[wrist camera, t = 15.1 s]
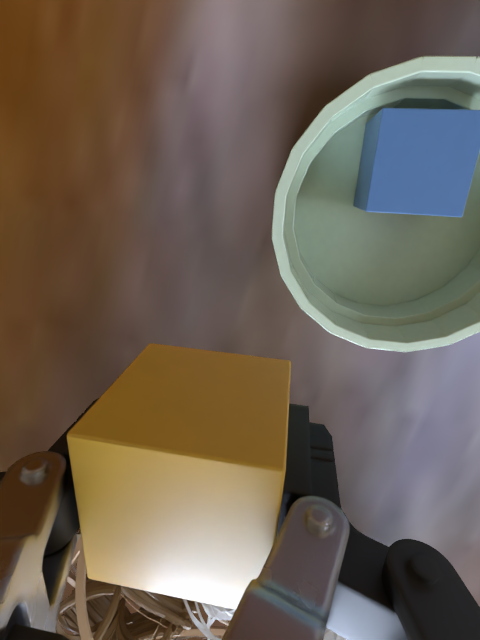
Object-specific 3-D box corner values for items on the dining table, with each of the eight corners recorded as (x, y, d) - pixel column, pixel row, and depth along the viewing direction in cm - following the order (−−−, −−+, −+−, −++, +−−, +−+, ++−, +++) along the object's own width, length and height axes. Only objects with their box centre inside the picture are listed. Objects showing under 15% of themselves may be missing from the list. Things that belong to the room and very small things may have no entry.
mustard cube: (149, 342, 12) (64, 433, 7) (291, 359, 11) (285, 469, 7) (153, 453, 13) (86, 579, 9) (276, 473, 13) (265, 617, 9)
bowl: (288, 85, 21) (285, 54, 16) (546, 90, 19) (634, 56, 14) (270, 307, 26) (263, 337, 21) (473, 326, 24) (519, 364, 19)
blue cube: (365, 122, 21) (382, 107, 16) (450, 125, 20) (490, 109, 16) (353, 206, 22) (365, 211, 18) (430, 210, 22) (462, 217, 18)
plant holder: (21, 409, 35) (-191, 566, 20) (396, 471, 30) (479, 749, 15) (57, 600, 45) (-69, 803, 30) (347, 675, 39) (368, 970, 24)
